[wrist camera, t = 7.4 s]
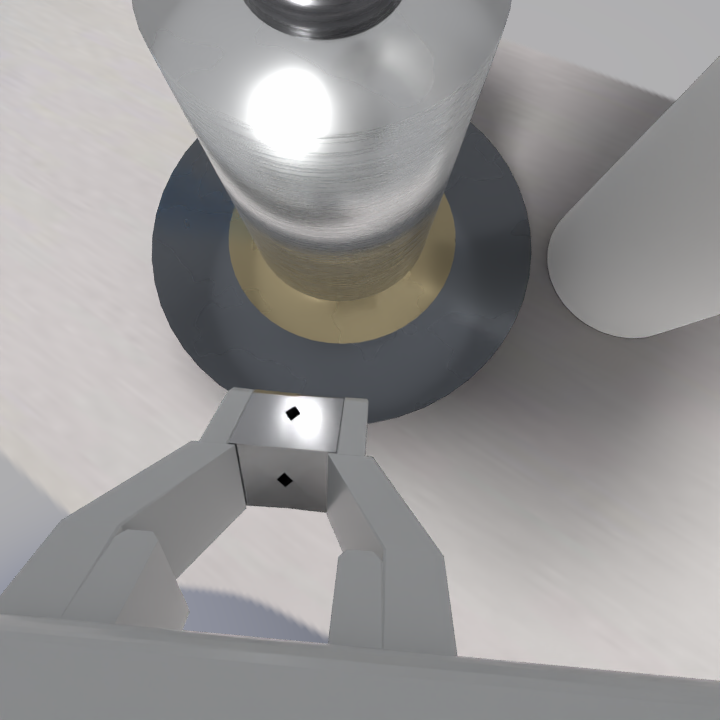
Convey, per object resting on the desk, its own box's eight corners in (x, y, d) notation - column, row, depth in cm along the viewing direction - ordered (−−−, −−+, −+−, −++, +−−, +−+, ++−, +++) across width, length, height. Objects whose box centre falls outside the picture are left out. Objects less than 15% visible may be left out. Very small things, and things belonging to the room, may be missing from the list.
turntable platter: (476, 83, 17) (485, 57, 16) (556, 394, 14) (574, 391, 13) (159, 122, 17) (143, 98, 15) (178, 453, 14) (161, 455, 13)
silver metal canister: (412, 133, 15) (481, -231, 7) (443, 288, 14) (574, 73, 6) (247, 153, 15) (106, -201, 7) (262, 312, 14) (110, 126, 5)
